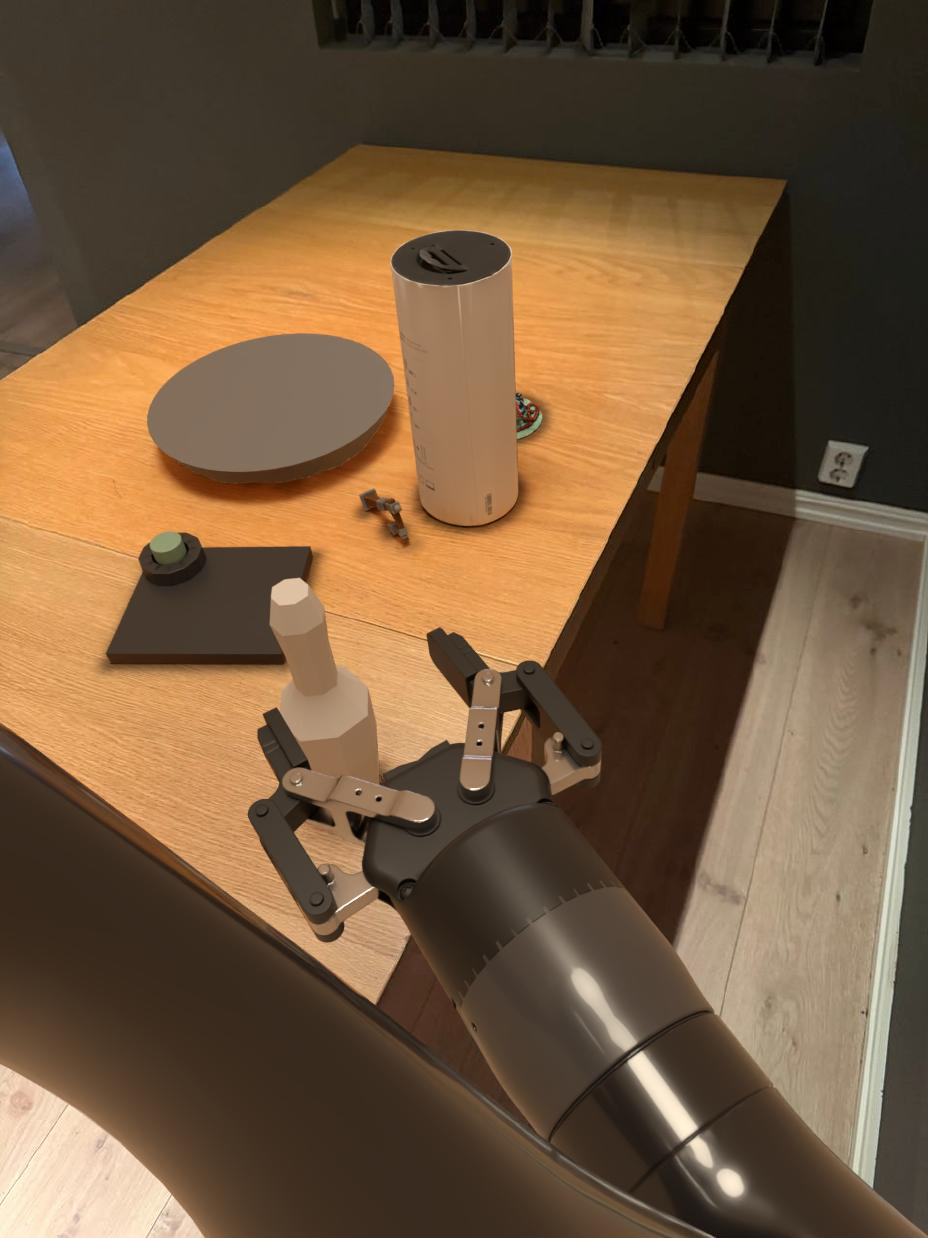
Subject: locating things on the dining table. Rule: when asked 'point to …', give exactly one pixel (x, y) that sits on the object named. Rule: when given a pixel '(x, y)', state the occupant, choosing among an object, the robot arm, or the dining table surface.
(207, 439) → the flat disc
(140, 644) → the scale
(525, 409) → the painted miniature figurine
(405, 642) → the dining table surface
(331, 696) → the low poly bottle
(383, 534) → the dining table surface
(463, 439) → the speaker
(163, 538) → the button
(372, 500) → the jointed metal bracket
